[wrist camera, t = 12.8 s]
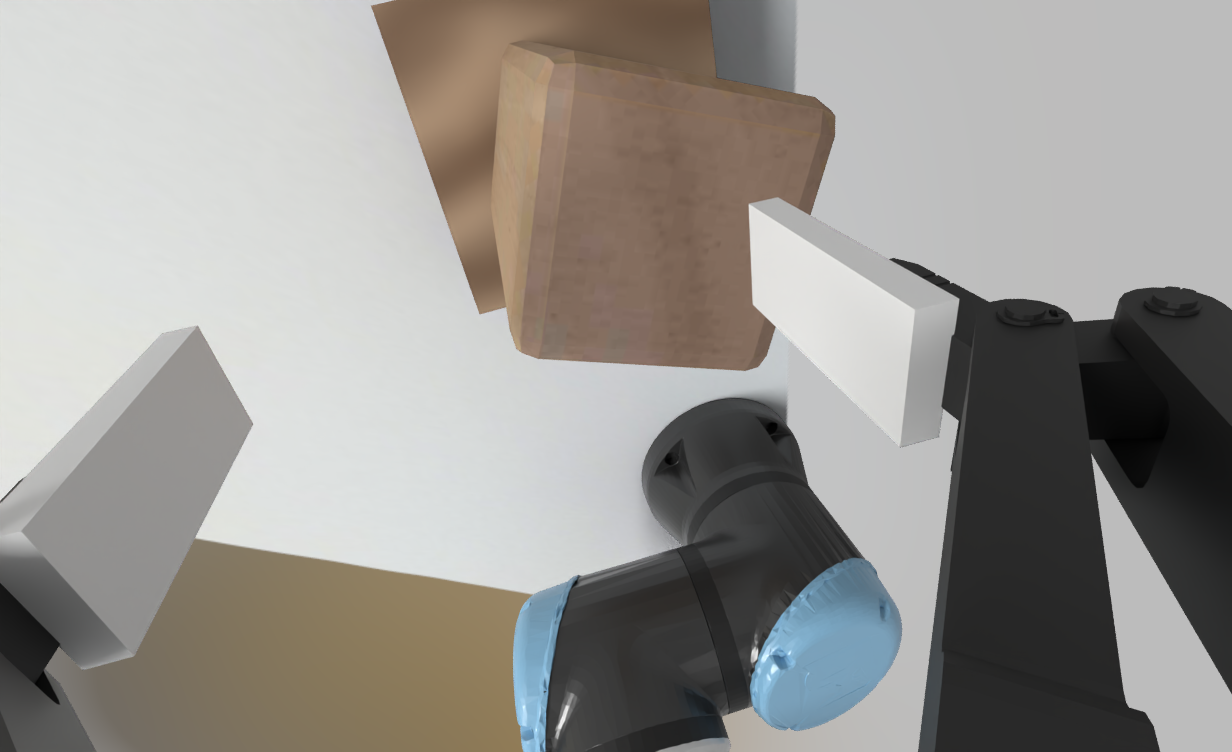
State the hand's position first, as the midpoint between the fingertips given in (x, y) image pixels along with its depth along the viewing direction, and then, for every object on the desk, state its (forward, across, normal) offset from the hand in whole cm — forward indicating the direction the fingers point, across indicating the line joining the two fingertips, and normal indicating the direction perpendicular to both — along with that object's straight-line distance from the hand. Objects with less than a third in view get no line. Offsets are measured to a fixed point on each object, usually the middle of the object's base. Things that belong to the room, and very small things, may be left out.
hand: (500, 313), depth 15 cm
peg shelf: (+31, -6, +1) cm, 32 cm away
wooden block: (+25, -6, +1) cm, 26 cm away
